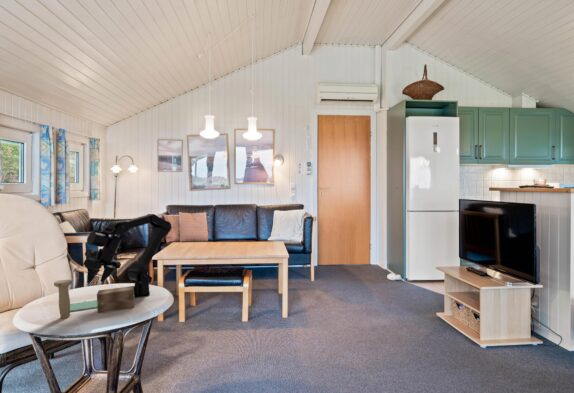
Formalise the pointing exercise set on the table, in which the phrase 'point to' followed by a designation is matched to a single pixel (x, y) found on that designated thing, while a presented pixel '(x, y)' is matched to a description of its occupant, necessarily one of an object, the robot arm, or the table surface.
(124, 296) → the cabinet
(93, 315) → the table surface
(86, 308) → the mat
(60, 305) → the handle
